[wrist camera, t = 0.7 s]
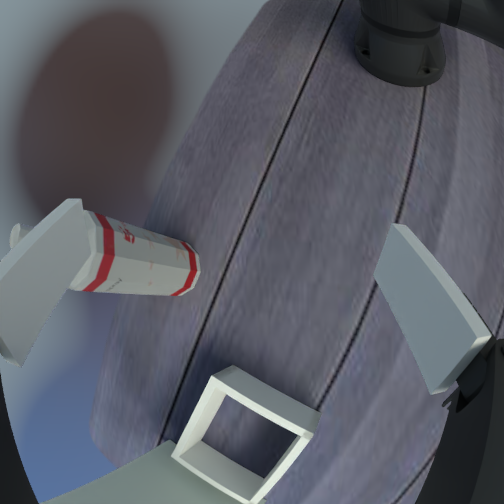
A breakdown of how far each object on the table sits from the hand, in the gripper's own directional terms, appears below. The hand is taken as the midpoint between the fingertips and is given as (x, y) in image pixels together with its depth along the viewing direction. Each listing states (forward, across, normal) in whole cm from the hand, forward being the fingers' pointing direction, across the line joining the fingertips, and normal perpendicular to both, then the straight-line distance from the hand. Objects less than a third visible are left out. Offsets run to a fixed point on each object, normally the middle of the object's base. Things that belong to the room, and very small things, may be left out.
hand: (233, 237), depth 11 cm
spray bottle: (+23, -8, -19) cm, 31 cm away
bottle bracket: (+5, +2, -34) cm, 34 cm away
